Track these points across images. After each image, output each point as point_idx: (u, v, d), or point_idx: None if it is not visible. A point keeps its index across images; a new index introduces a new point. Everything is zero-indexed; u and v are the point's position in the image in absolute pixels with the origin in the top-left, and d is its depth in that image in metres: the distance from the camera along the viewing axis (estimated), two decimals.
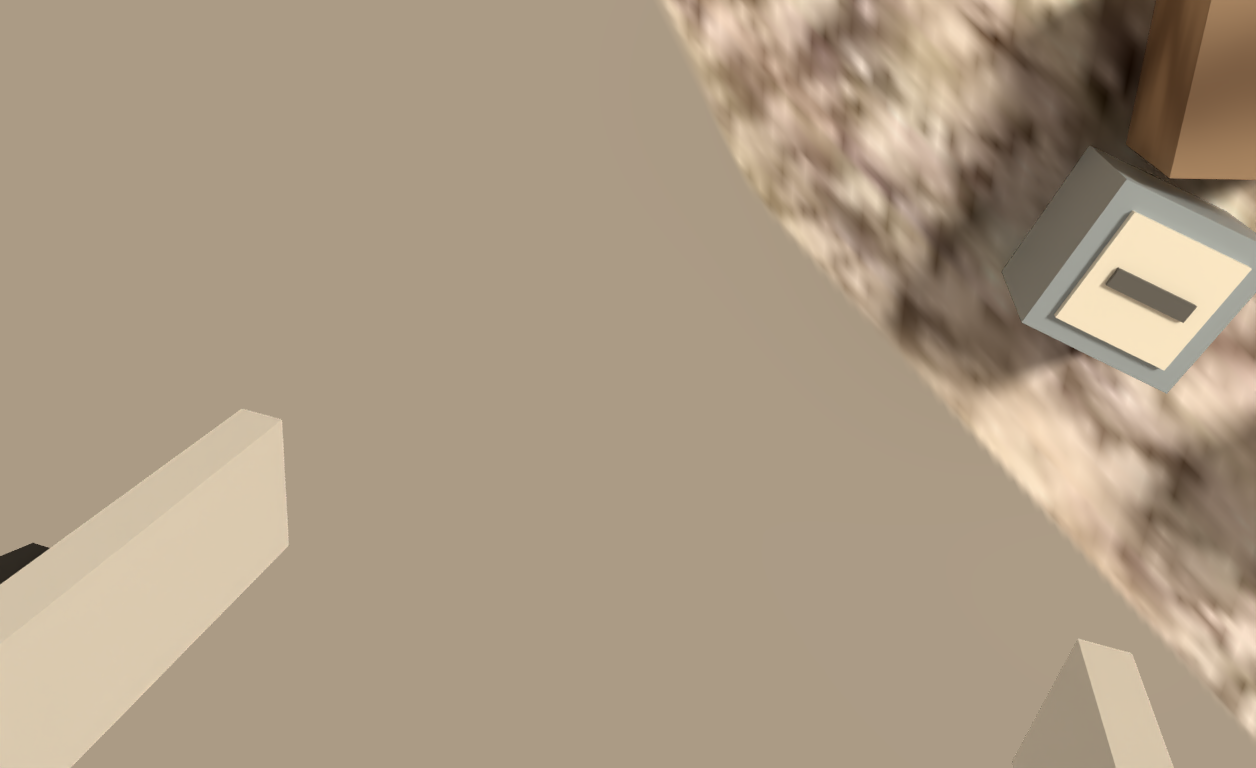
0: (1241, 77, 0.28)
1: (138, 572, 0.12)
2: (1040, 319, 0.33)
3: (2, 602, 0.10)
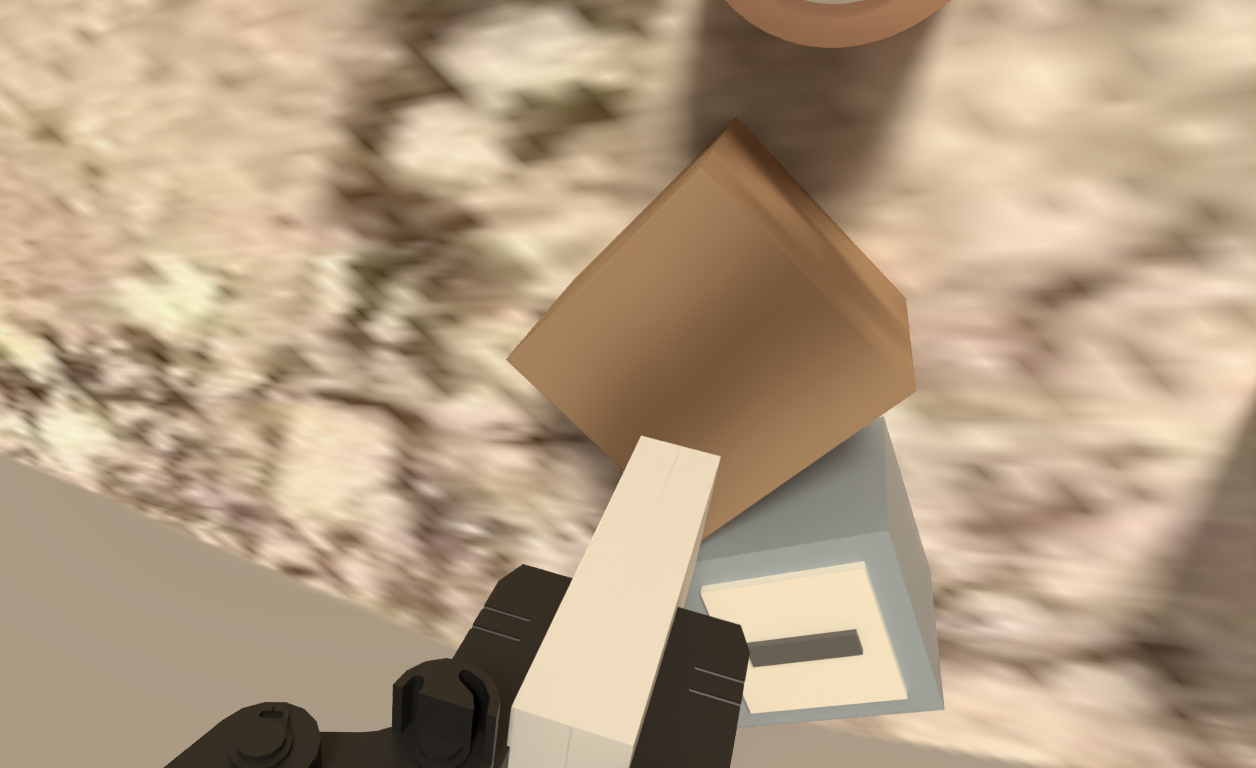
0: (648, 430, 0.22)
1: None
2: (746, 716, 0.25)
3: (572, 621, 0.11)
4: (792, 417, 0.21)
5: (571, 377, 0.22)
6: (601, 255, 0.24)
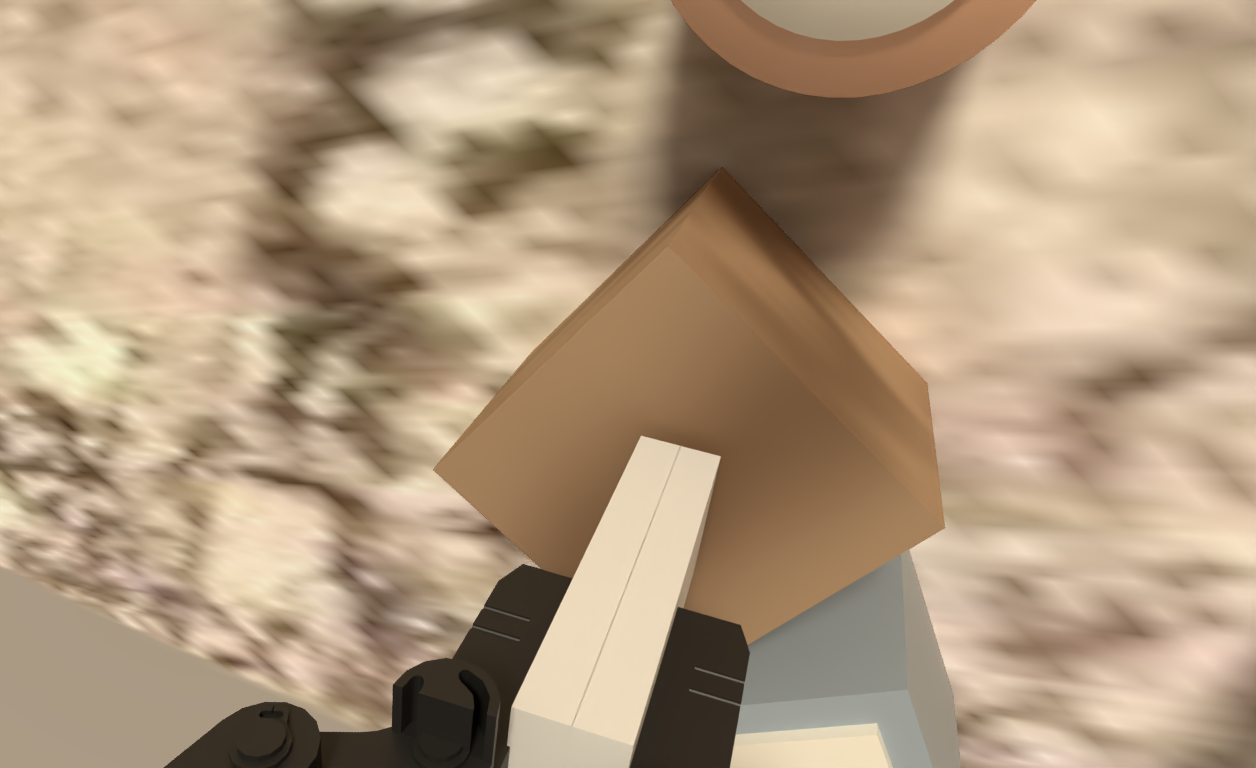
0: None
1: None
2: None
3: (572, 621, 0.11)
4: (787, 552, 0.16)
5: (513, 493, 0.17)
6: (559, 331, 0.20)
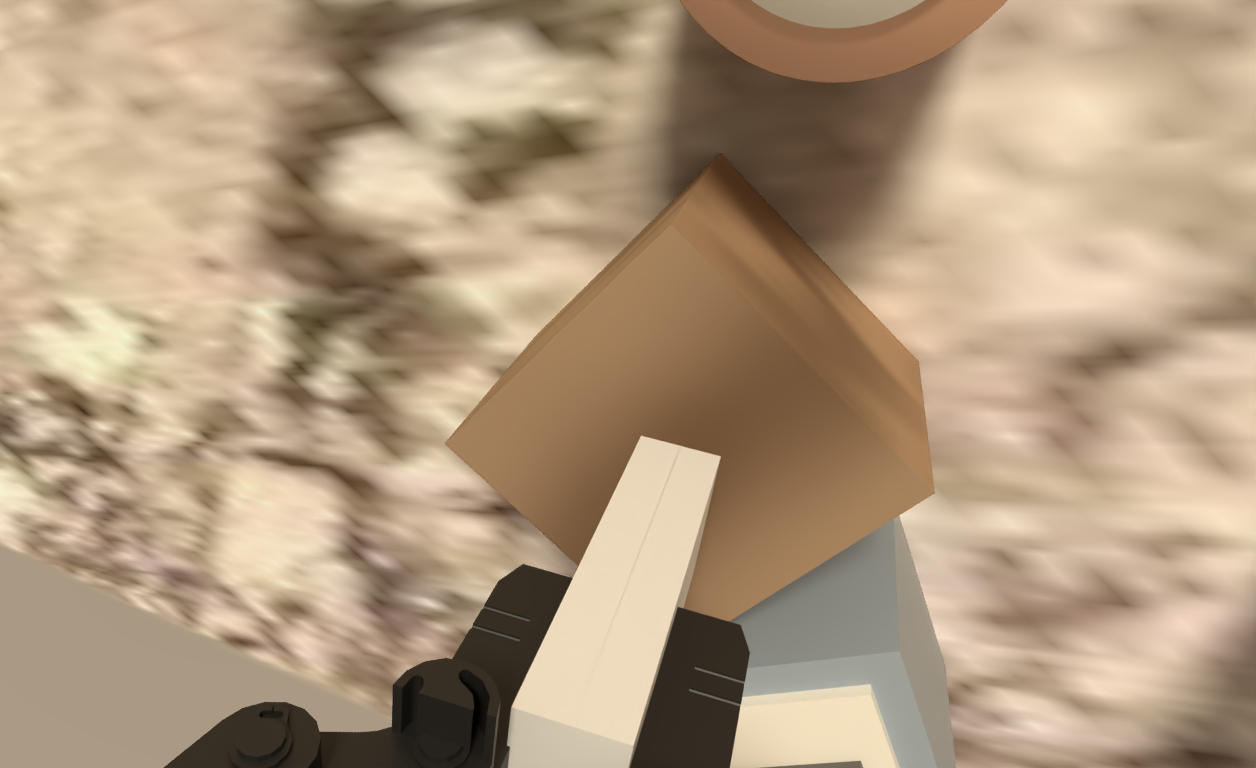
0: None
1: None
2: None
3: (572, 621, 0.11)
4: (785, 518, 0.17)
5: (521, 466, 0.18)
6: (564, 312, 0.21)
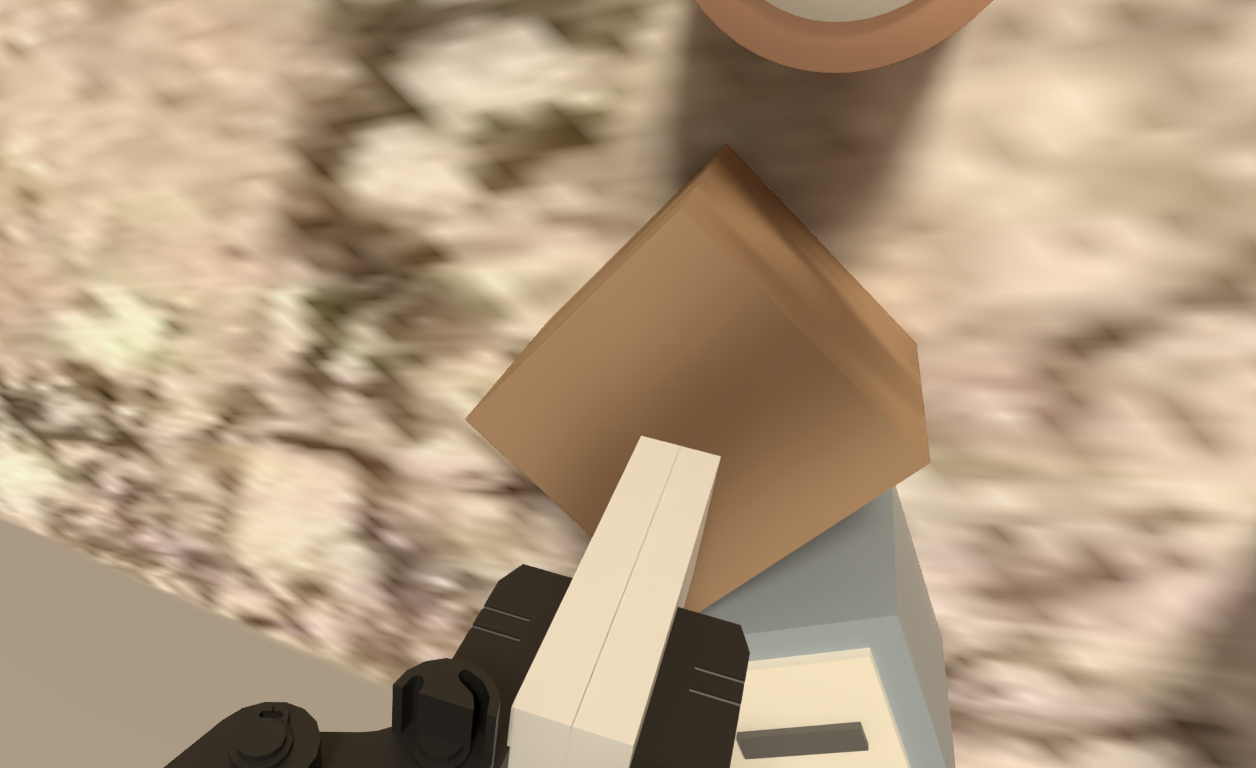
0: None
1: None
2: None
3: (572, 621, 0.11)
4: (789, 489, 0.18)
5: (538, 440, 0.19)
6: (576, 296, 0.22)
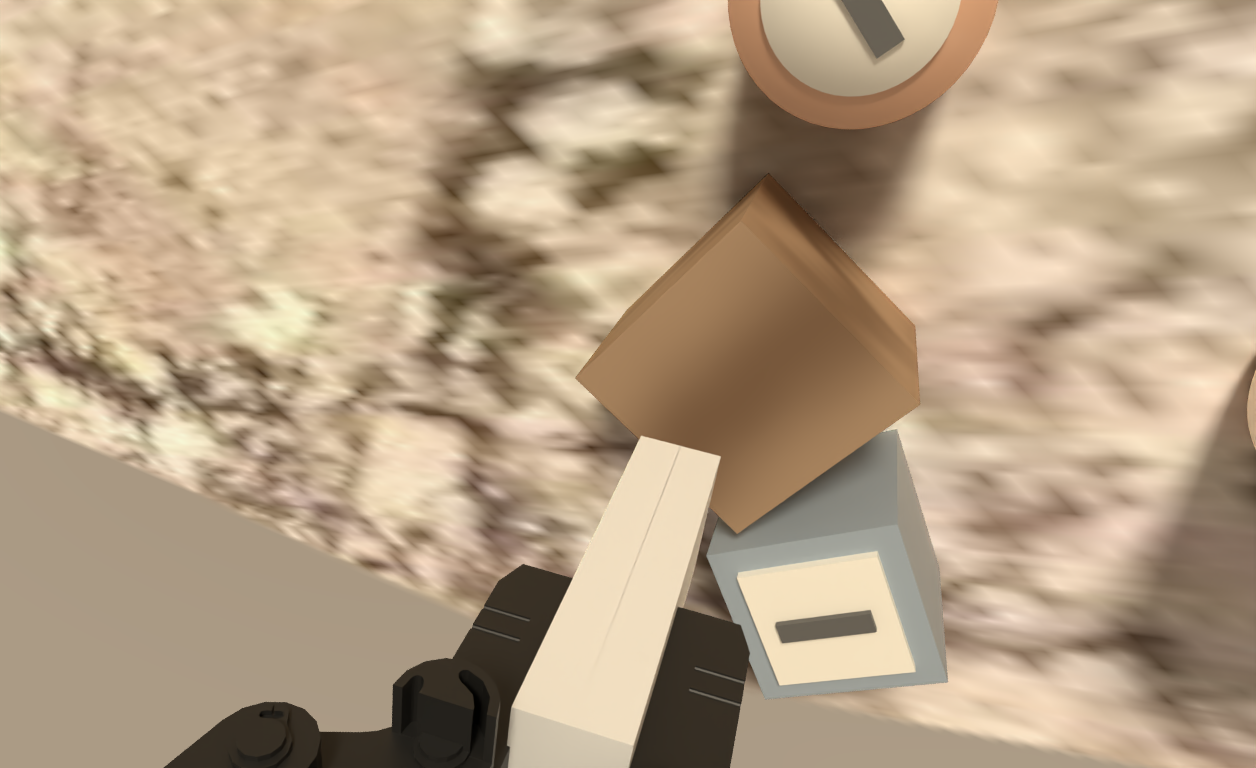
0: (694, 438, 0.26)
1: None
2: (775, 688, 0.29)
3: (572, 621, 0.11)
4: (817, 426, 0.25)
5: (630, 393, 0.26)
6: (653, 289, 0.29)
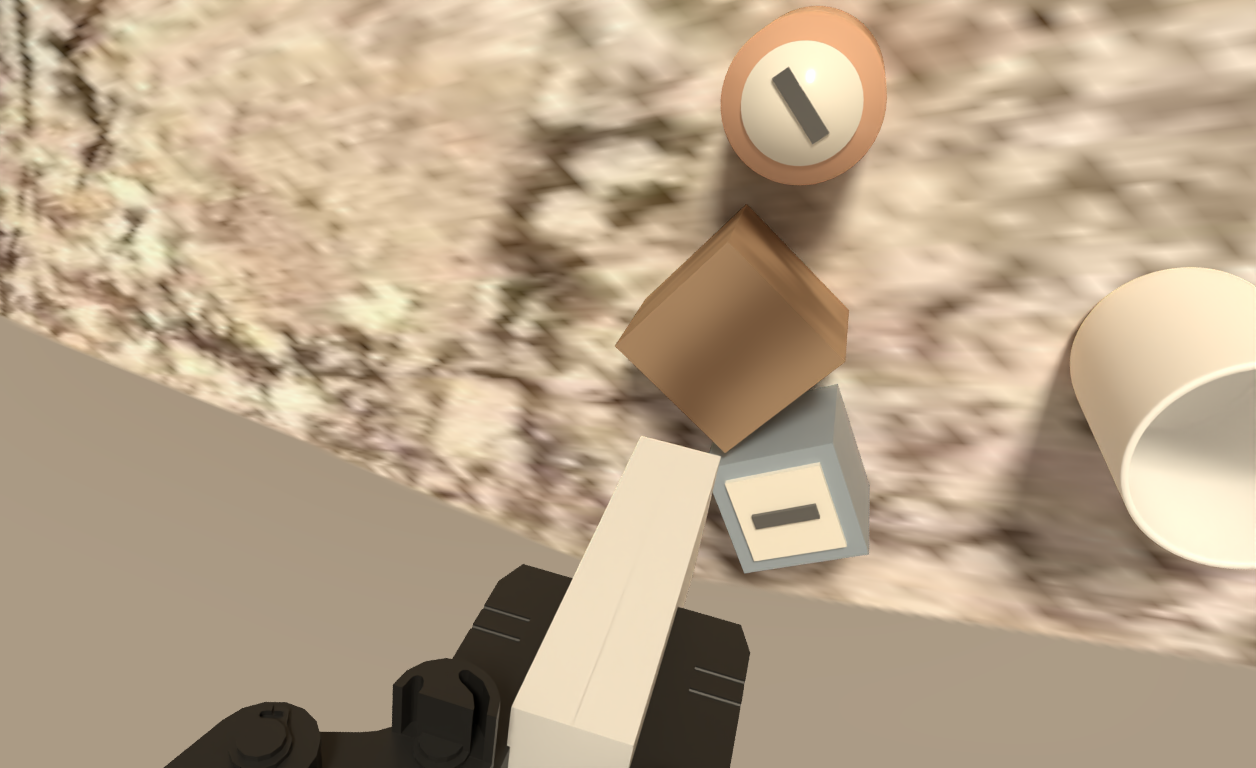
0: (696, 386, 0.38)
1: None
2: (751, 564, 0.42)
3: (572, 621, 0.11)
4: (778, 377, 0.37)
5: (652, 356, 0.38)
6: (665, 285, 0.41)
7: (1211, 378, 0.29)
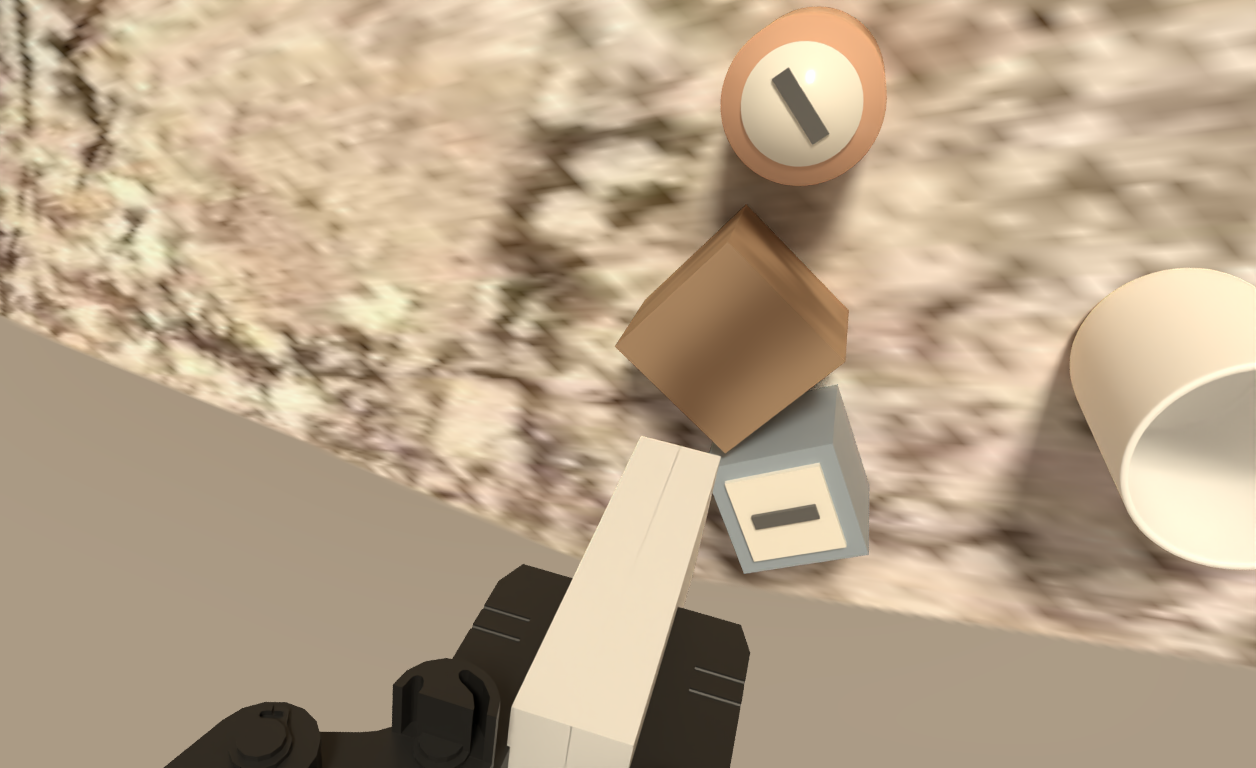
0: (696, 386, 0.38)
1: None
2: (751, 565, 0.42)
3: (572, 621, 0.11)
4: (778, 377, 0.37)
5: (652, 356, 0.38)
6: (665, 285, 0.41)
7: (1211, 379, 0.29)
